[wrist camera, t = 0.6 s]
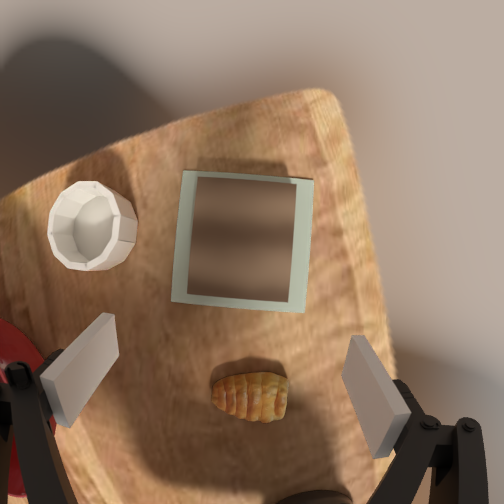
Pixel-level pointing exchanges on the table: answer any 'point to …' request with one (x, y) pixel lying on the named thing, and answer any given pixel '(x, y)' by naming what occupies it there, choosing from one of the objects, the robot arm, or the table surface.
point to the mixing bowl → (3, 353)
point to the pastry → (252, 396)
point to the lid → (242, 239)
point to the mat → (298, 253)
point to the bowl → (91, 227)
